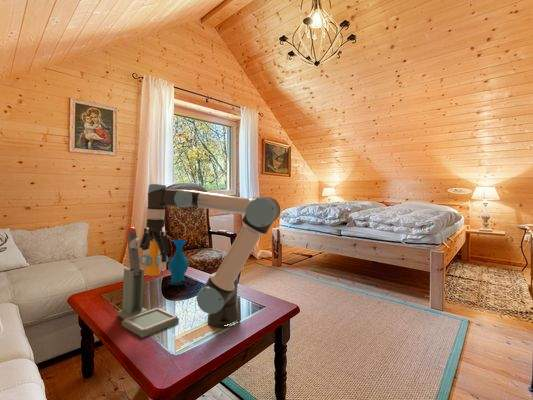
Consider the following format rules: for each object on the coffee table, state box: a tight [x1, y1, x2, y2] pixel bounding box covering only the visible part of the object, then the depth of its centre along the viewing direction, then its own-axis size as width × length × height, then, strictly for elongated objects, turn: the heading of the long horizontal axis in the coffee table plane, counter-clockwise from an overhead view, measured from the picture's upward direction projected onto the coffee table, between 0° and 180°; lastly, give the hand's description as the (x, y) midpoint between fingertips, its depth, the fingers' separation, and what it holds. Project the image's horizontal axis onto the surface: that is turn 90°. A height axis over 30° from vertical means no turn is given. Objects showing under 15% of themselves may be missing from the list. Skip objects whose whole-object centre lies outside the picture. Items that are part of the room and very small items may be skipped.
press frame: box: [117, 267, 180, 338], centre depth 129 cm, size 27×18×22 cm, turn 55°
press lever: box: [126, 226, 142, 277], centre depth 134 cm, size 24×5×6 cm
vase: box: [168, 239, 189, 286], centre depth 183 cm, size 12×13×28 cm
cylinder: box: [139, 239, 169, 277], centre depth 125 cm, size 12×10×15 cm
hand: (153, 266), depth 125 cm, fingers closed on cylinder, 12 cm apart
